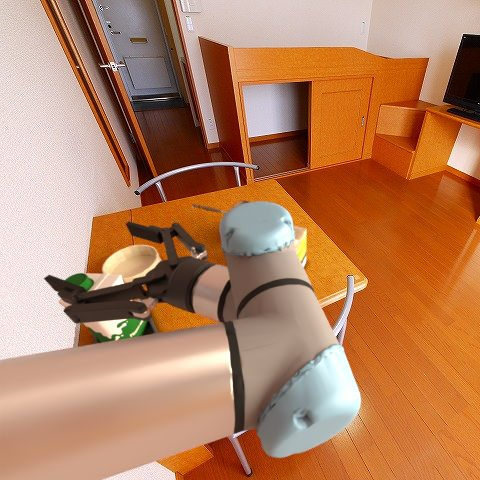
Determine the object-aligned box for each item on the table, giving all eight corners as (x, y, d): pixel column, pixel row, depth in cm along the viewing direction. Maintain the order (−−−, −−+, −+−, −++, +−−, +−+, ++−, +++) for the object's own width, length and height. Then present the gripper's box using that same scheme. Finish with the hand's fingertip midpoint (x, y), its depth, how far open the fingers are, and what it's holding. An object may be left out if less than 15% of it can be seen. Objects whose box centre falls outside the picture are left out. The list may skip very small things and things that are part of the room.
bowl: (116, 297, 76) (108, 287, 73) (104, 268, 83) (97, 258, 81) (169, 273, 83) (164, 263, 80) (154, 249, 91) (149, 238, 88)
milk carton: (120, 319, 70) (78, 263, 57) (155, 320, 70) (121, 265, 57) (98, 352, 63) (45, 298, 50) (138, 353, 63) (94, 299, 50)
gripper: (150, 385, 33) (25, 330, 38) (253, 252, 51) (160, 227, 56) (124, 354, 28) (-16, 296, 33) (248, 220, 46) (147, 195, 51)
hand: (95, 252), depth 44 cm, fingers open, 13 cm apart
